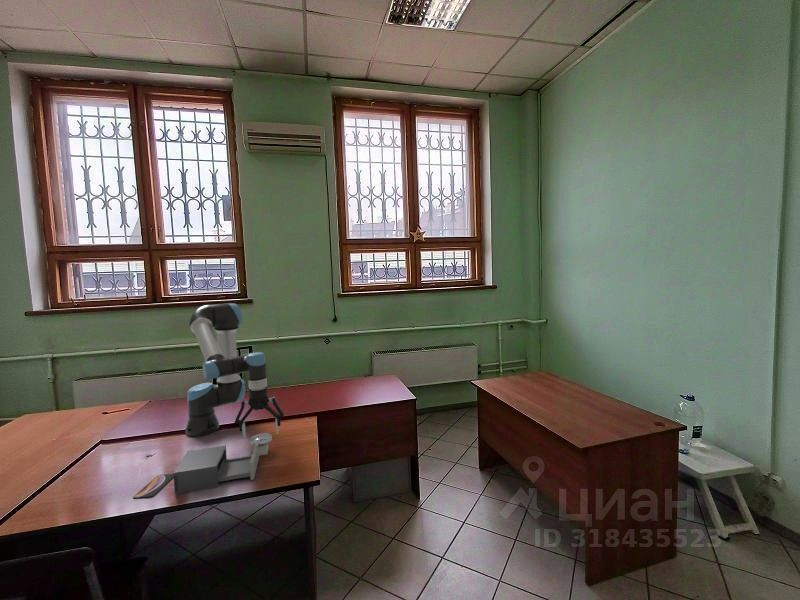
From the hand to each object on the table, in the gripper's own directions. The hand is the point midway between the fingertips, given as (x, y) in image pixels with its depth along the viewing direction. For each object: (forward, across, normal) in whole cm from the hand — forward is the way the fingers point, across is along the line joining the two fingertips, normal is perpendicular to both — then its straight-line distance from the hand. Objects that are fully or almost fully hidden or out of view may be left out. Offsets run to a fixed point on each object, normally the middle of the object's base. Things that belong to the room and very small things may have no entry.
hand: (261, 435), depth 154 cm
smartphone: (+8, -36, -14) cm, 40 cm away
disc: (+3, 0, 0) cm, 3 cm away
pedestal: (+8, 0, 0) cm, 8 cm away
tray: (+8, -8, -14) cm, 17 cm away
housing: (+8, -20, -14) cm, 26 cm away
